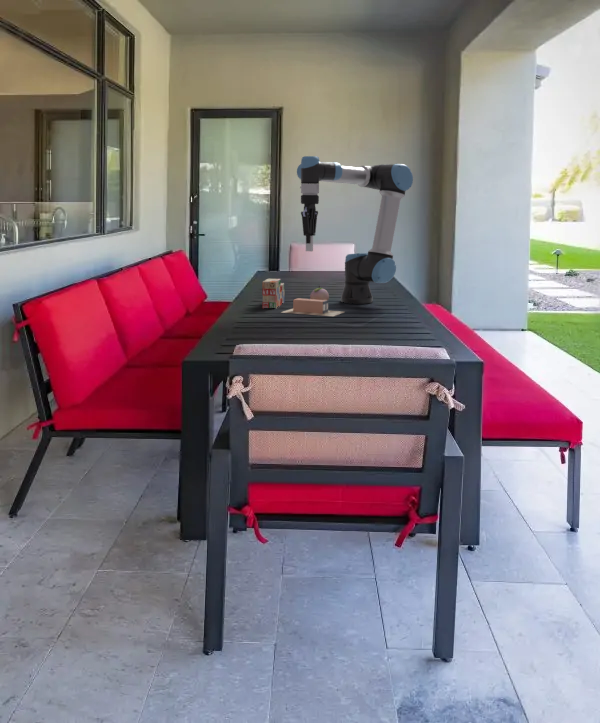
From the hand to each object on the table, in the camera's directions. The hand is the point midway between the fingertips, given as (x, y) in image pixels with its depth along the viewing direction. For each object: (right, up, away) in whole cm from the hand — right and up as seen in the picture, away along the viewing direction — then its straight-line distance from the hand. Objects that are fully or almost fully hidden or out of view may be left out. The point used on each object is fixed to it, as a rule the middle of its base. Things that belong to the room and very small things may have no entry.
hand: (309, 251), depth 325 cm
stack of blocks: (-16, -21, +26) cm, 38 cm away
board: (+2, -27, +1) cm, 27 cm away
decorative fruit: (+5, -23, +19) cm, 30 cm away
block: (+7, -24, -2) cm, 25 cm away
